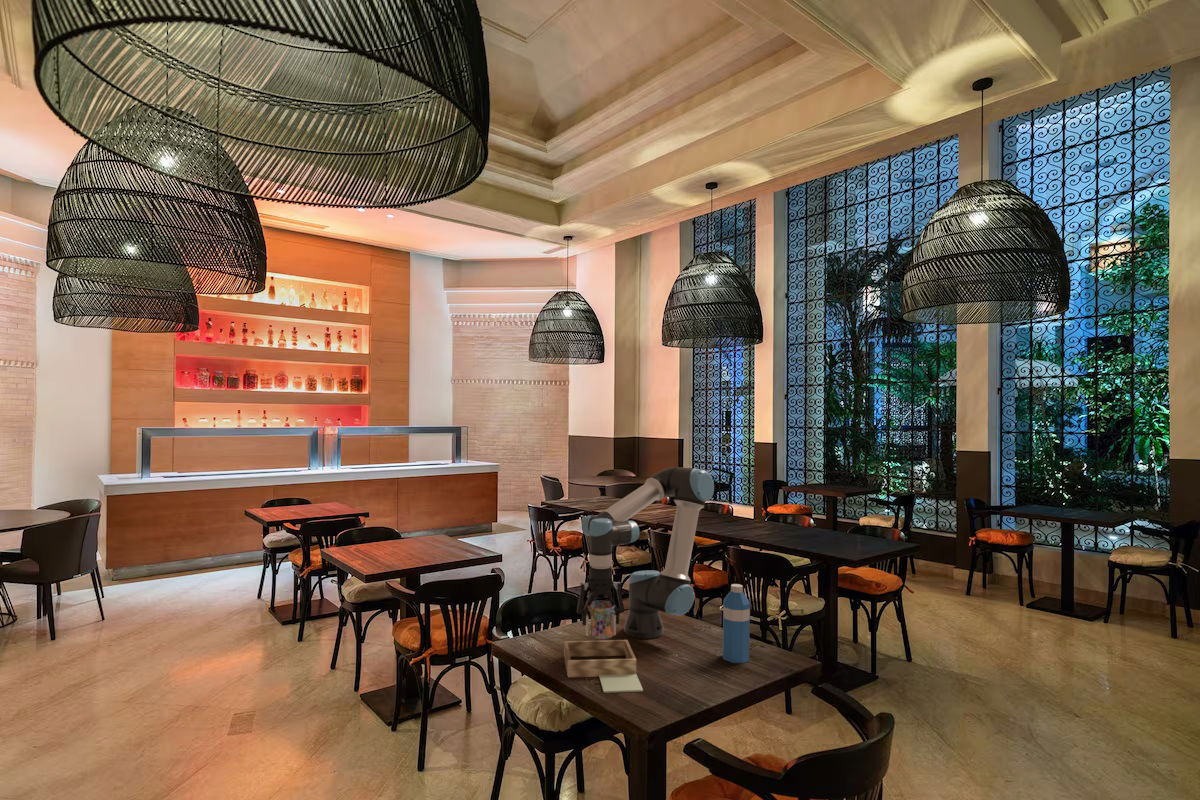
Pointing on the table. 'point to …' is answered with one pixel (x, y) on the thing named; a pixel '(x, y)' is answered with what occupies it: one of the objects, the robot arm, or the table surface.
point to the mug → (601, 619)
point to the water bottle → (736, 625)
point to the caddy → (601, 665)
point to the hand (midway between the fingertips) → (600, 634)
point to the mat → (620, 683)
